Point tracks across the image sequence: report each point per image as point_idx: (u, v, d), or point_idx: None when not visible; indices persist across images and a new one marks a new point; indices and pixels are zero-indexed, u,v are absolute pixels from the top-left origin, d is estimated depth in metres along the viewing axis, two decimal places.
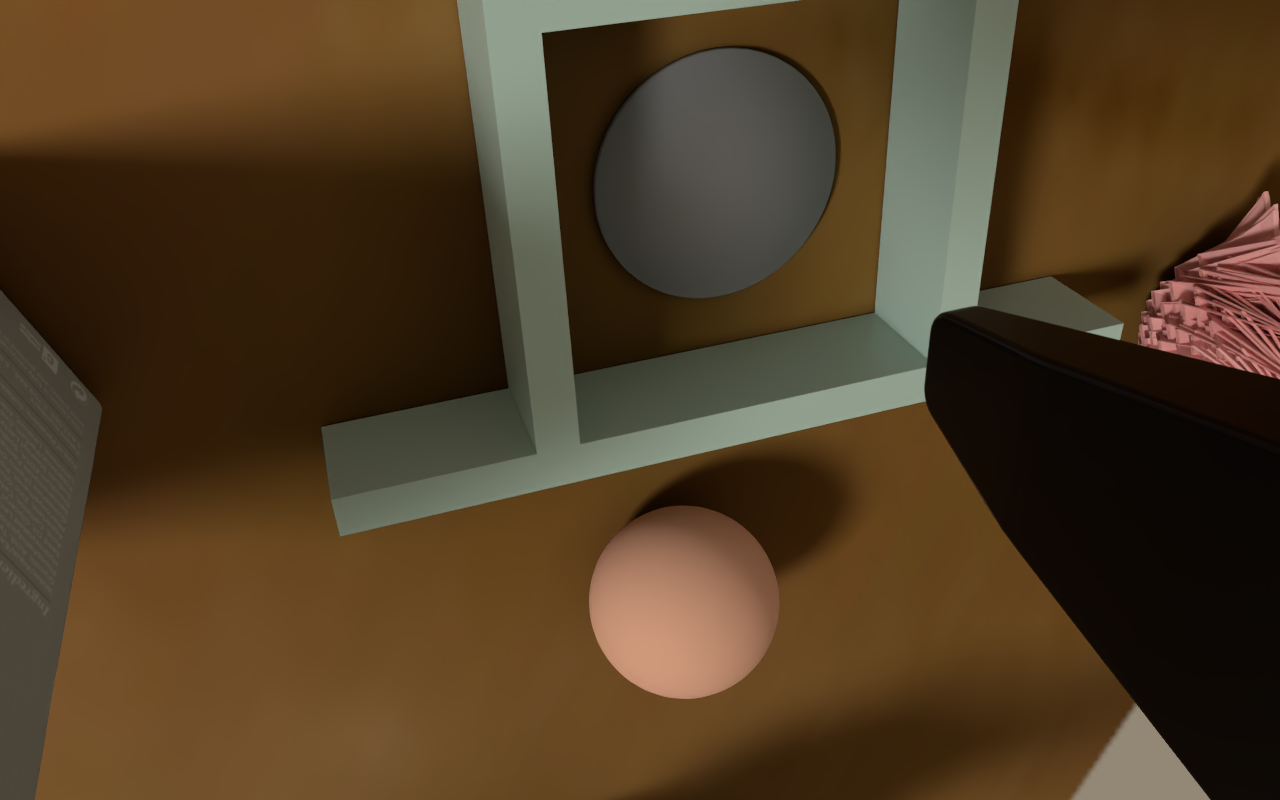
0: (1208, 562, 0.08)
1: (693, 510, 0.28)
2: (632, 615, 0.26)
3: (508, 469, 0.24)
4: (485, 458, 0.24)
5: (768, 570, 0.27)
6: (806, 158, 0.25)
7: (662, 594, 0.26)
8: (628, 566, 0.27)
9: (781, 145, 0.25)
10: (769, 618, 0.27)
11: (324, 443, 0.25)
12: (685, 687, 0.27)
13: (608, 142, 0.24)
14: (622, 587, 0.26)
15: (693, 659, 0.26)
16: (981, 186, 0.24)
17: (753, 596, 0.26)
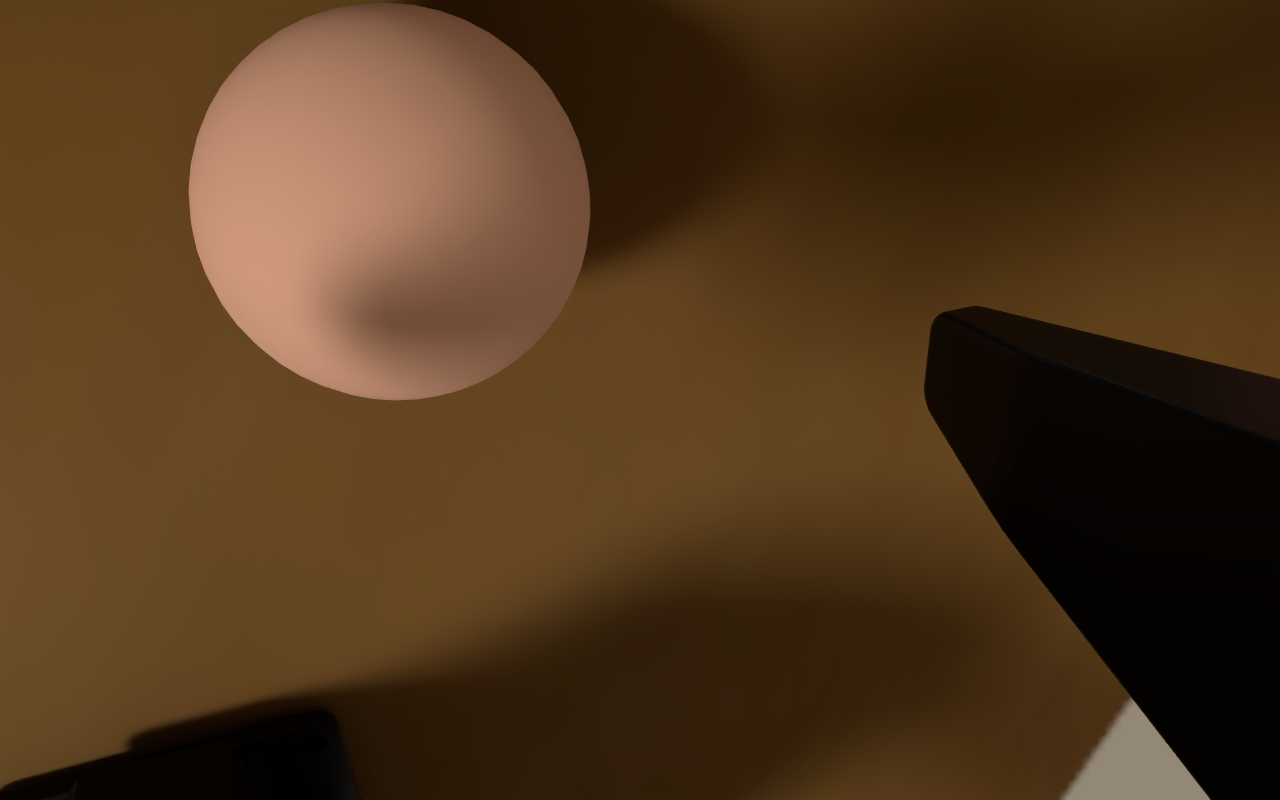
0: (1208, 562, 0.08)
1: None
2: (232, 171, 0.12)
3: None
4: None
5: (555, 117, 0.13)
6: None
7: (291, 115, 0.12)
8: (238, 80, 0.12)
9: None
10: (550, 205, 0.13)
11: None
12: (361, 342, 0.12)
13: None
14: (220, 121, 0.12)
15: (363, 262, 0.12)
16: None
17: (504, 139, 0.12)
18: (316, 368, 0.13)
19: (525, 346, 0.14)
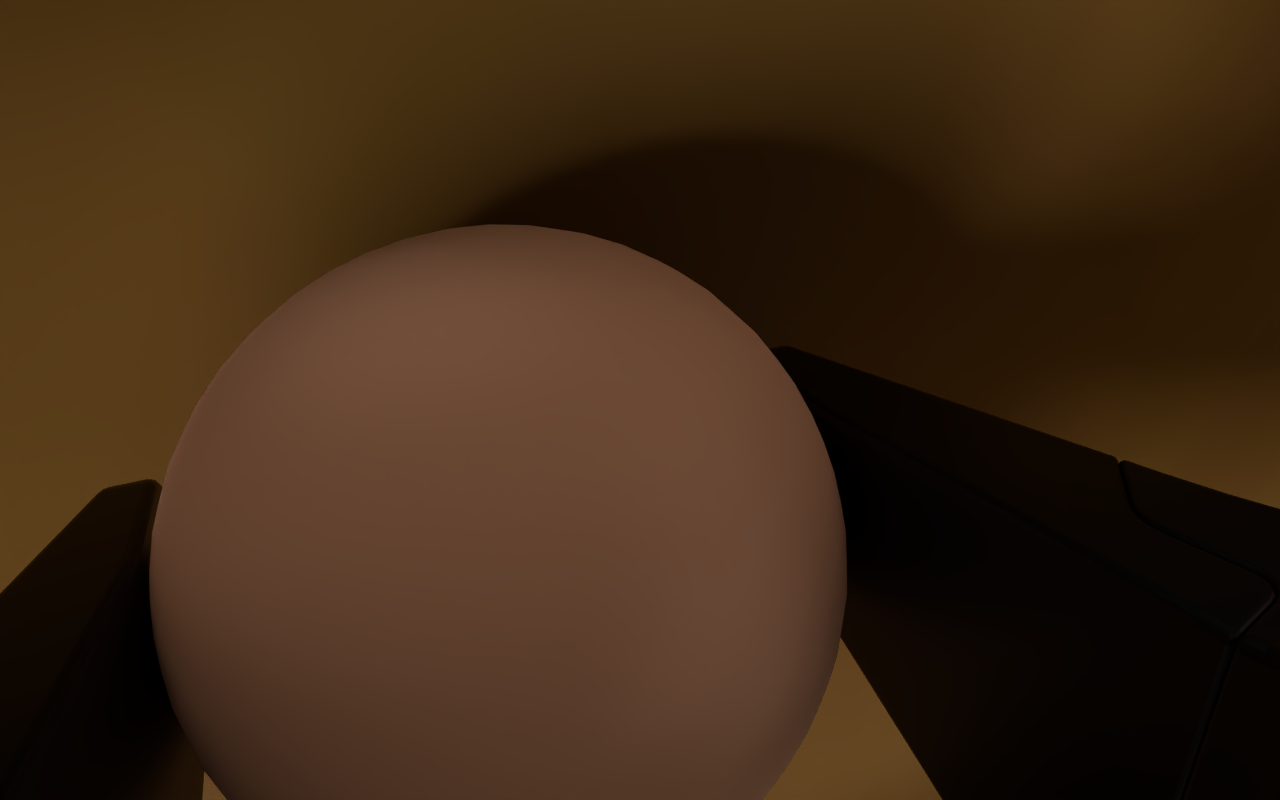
0: (970, 632, 0.07)
1: (535, 227, 0.08)
2: (227, 608, 0.06)
3: None
4: None
5: (811, 439, 0.07)
6: None
7: (344, 513, 0.06)
8: (238, 406, 0.06)
9: None
10: (817, 622, 0.07)
11: None
12: None
13: None
14: (204, 493, 0.06)
15: None
16: None
17: (751, 530, 0.06)
18: None
19: None
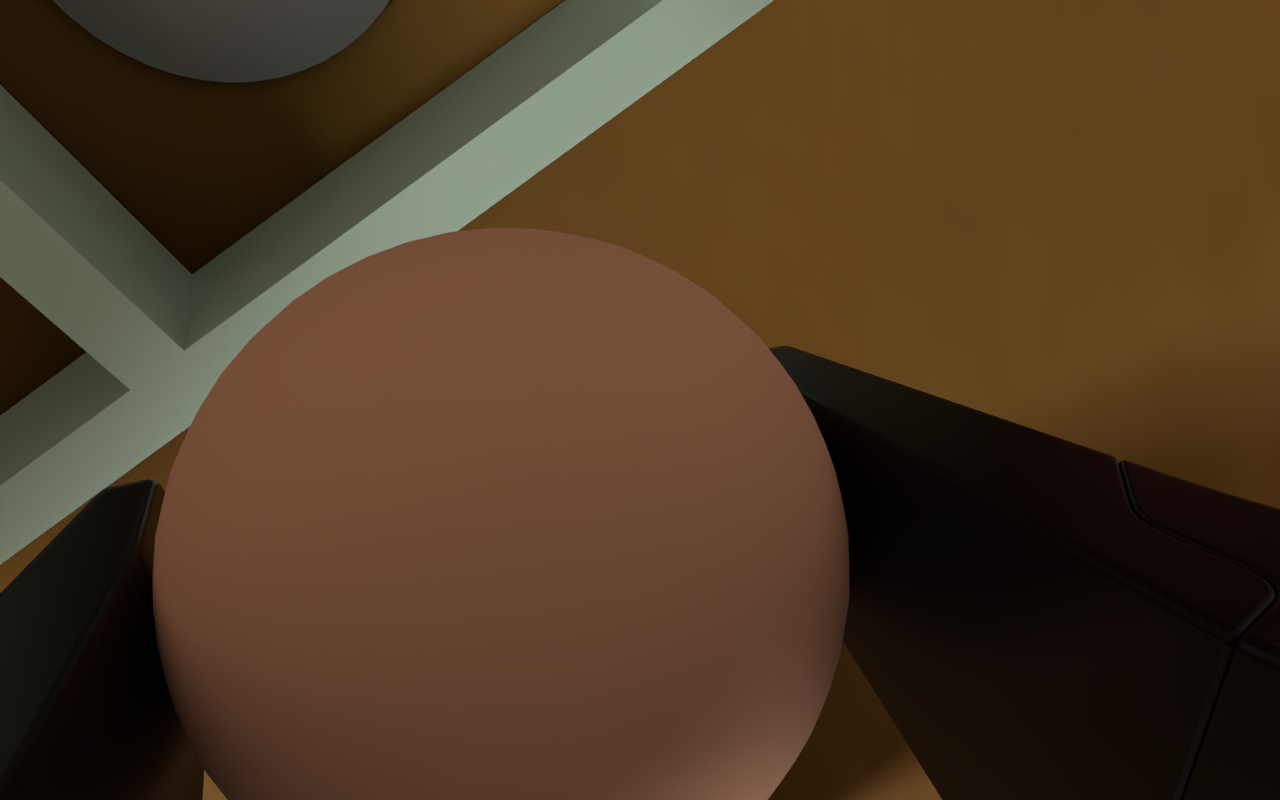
0: (969, 632, 0.07)
1: (537, 230, 0.08)
2: (231, 613, 0.06)
3: (106, 426, 0.16)
4: (74, 424, 0.16)
5: (813, 442, 0.07)
6: None
7: (347, 520, 0.06)
8: (240, 413, 0.06)
9: None
10: (820, 625, 0.07)
11: None
12: None
13: None
14: (208, 498, 0.06)
15: None
16: None
17: (754, 534, 0.06)
18: None
19: None
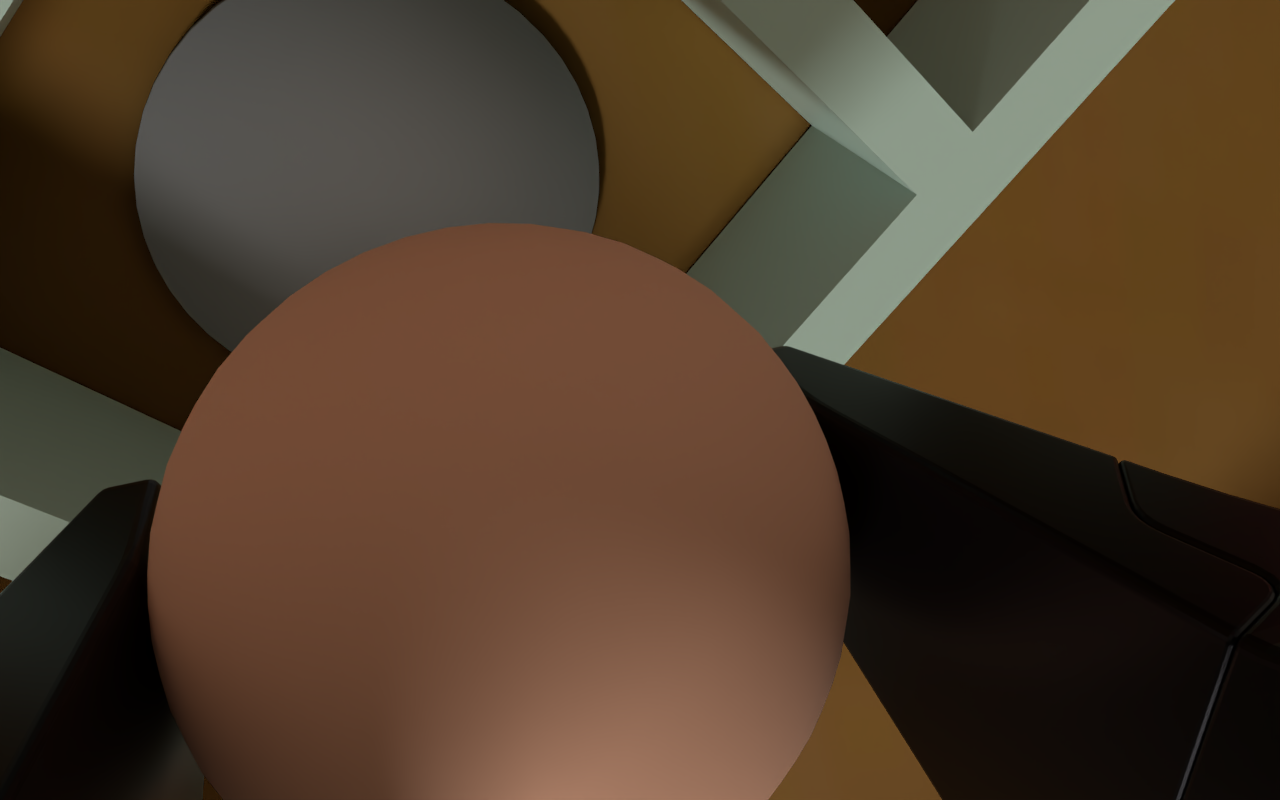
0: (969, 632, 0.07)
1: (536, 226, 0.08)
2: (227, 610, 0.06)
3: None
4: None
5: (814, 439, 0.07)
6: (472, 54, 0.14)
7: (343, 514, 0.06)
8: (236, 408, 0.06)
9: (414, 75, 0.14)
10: (821, 623, 0.07)
11: None
12: None
13: (181, 297, 0.14)
14: (202, 494, 0.06)
15: None
16: None
17: (755, 531, 0.06)
18: None
19: None
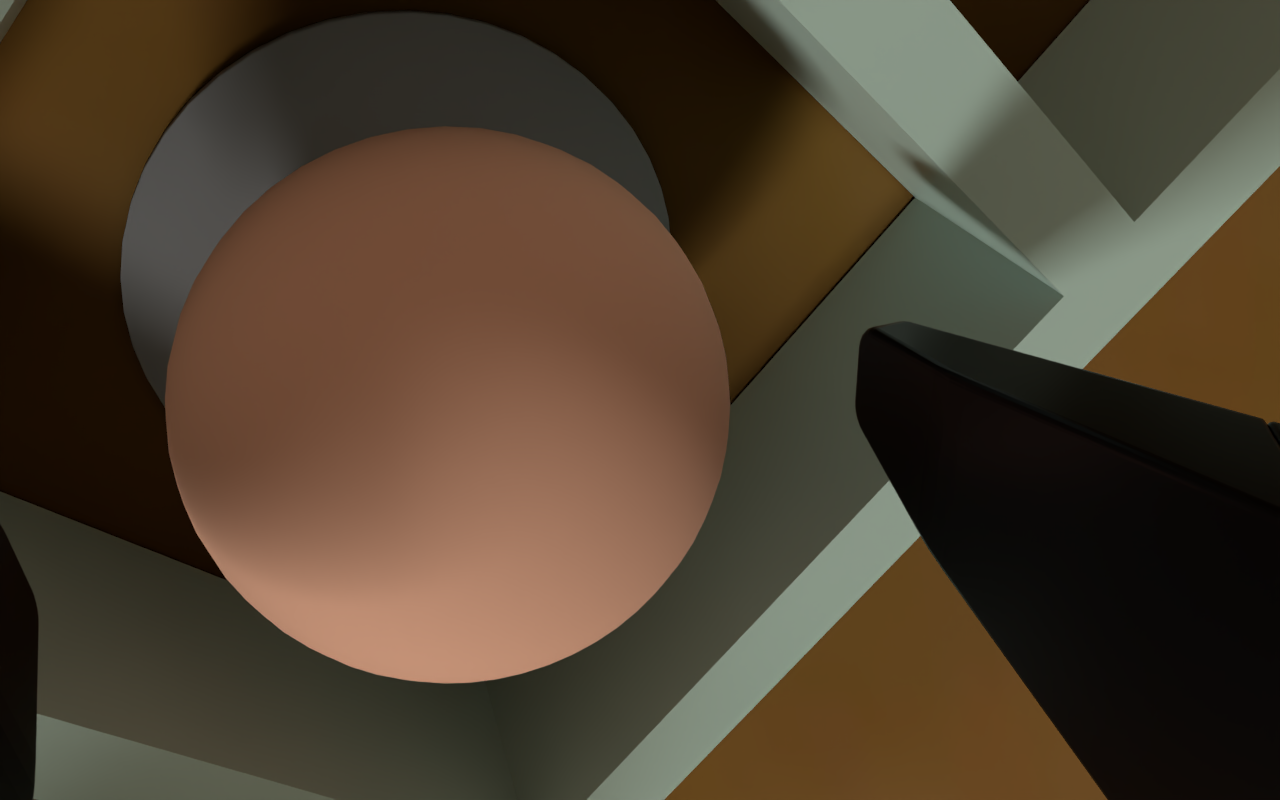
0: (1118, 588, 0.07)
1: None
2: (229, 402, 0.08)
3: None
4: None
5: (693, 293, 0.09)
6: (527, 125, 0.11)
7: (316, 323, 0.08)
8: (235, 255, 0.08)
9: None
10: (693, 430, 0.09)
11: None
12: (420, 643, 0.08)
13: None
14: (209, 319, 0.08)
15: (426, 545, 0.08)
16: None
17: (634, 347, 0.08)
18: (350, 661, 0.09)
19: (642, 605, 0.10)
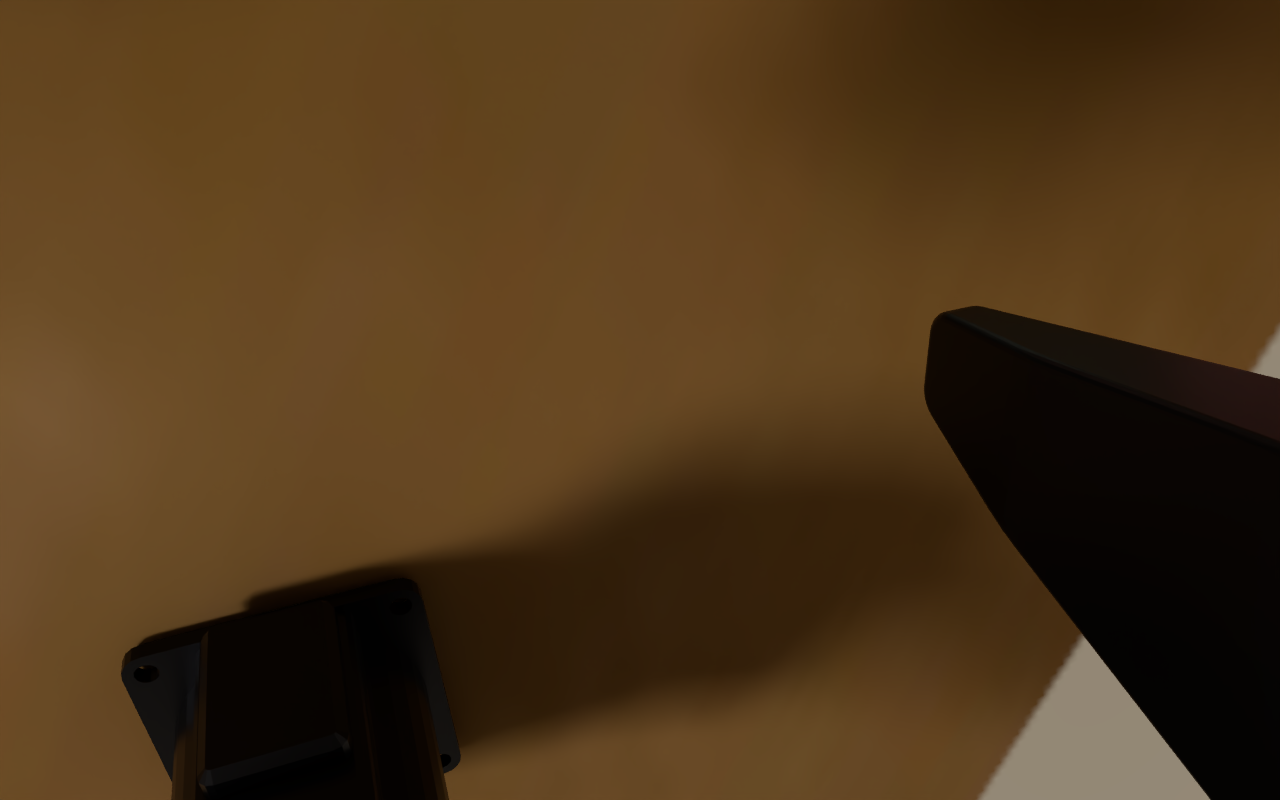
0: (1207, 562, 0.08)
1: None
2: None
3: None
4: None
5: None
6: None
7: None
8: None
9: None
10: None
11: None
12: None
13: None
14: None
15: None
16: None
17: None
18: None
19: None
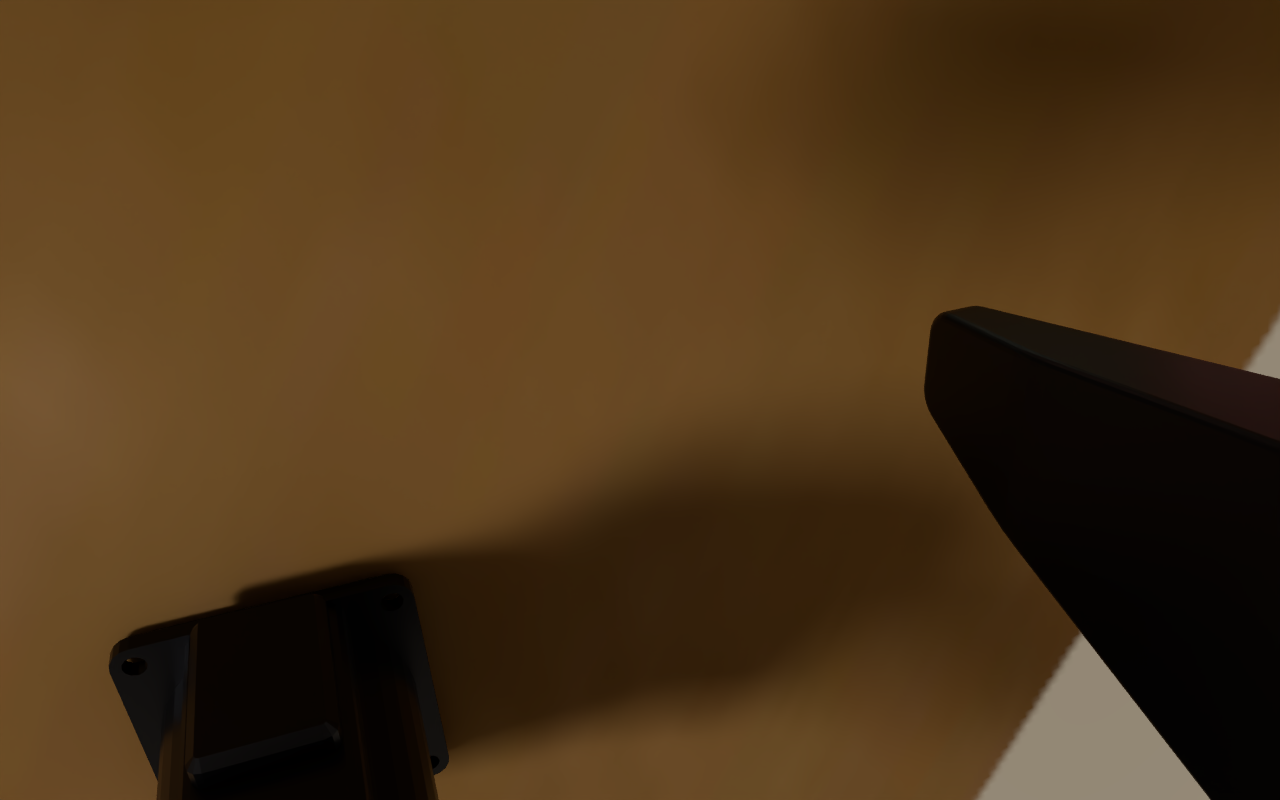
0: (1208, 562, 0.08)
1: None
2: None
3: None
4: None
5: None
6: None
7: None
8: None
9: None
10: None
11: None
12: None
13: None
14: None
15: None
16: None
17: None
18: None
19: None
